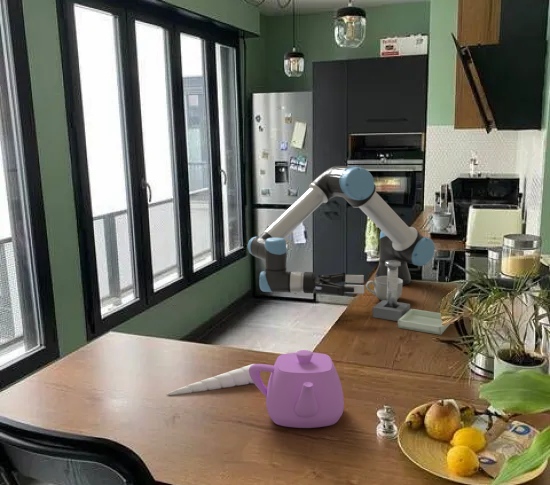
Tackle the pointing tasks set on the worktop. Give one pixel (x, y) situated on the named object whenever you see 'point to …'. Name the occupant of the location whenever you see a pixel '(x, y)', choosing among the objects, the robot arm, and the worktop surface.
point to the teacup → (383, 287)
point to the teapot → (301, 390)
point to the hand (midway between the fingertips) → (363, 284)
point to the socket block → (390, 311)
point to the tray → (422, 321)
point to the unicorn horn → (218, 381)
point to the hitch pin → (392, 282)
